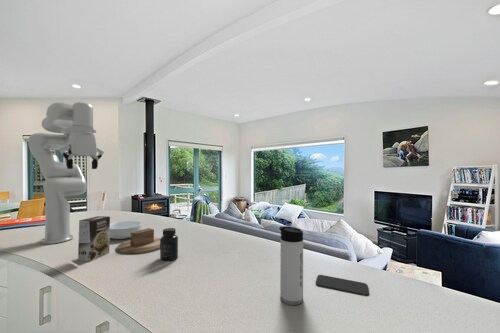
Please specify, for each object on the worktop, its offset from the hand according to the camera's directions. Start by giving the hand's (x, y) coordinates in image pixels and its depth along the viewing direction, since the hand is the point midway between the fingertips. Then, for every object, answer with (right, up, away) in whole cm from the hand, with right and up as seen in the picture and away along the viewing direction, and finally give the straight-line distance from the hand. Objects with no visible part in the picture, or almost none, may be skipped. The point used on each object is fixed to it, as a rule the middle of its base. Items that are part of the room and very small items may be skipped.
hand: (82, 168), depth 102 cm
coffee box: (+12, -36, -10) cm, 39 cm away
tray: (+25, -36, +3) cm, 44 cm away
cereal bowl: (+9, -37, +17) cm, 42 cm away
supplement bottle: (+43, -36, -11) cm, 57 cm away
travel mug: (+87, -36, -39) cm, 102 cm away
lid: (+25, -36, +3) cm, 44 cm away
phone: (+104, -37, -31) cm, 114 cm away
